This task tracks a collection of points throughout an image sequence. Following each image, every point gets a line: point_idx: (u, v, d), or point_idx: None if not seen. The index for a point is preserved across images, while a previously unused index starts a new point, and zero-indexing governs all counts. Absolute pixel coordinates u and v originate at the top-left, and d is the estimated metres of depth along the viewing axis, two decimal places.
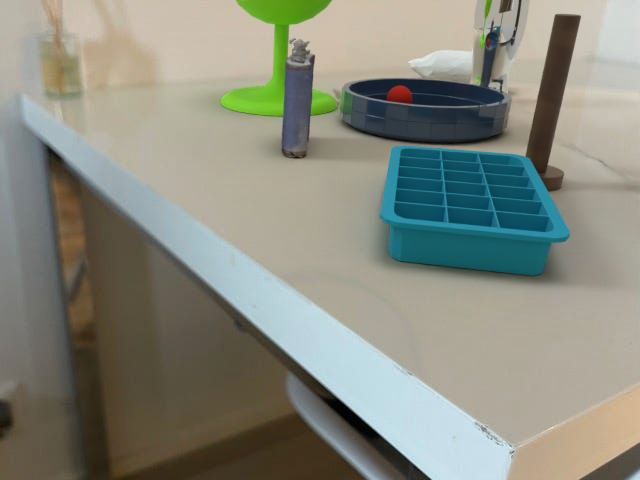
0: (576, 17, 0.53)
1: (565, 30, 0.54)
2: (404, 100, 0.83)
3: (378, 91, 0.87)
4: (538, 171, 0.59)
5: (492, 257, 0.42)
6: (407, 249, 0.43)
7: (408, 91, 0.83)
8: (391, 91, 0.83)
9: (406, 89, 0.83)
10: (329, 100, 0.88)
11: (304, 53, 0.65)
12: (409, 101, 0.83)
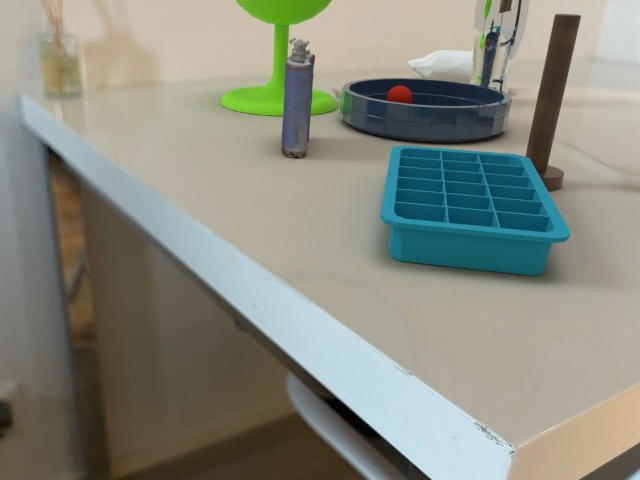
0: (576, 17, 0.53)
1: (565, 30, 0.54)
2: (404, 100, 0.83)
3: (378, 91, 0.87)
4: (538, 171, 0.59)
5: (492, 257, 0.42)
6: (407, 249, 0.43)
7: (408, 91, 0.83)
8: (391, 91, 0.83)
9: (406, 89, 0.83)
10: (329, 100, 0.88)
11: (304, 53, 0.65)
12: (409, 101, 0.83)
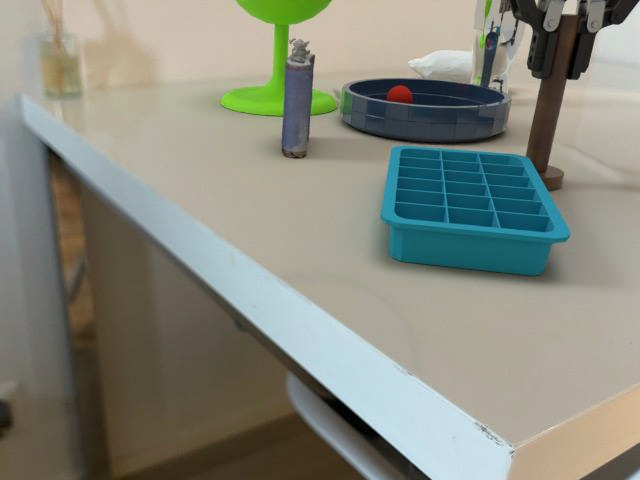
0: (576, 17, 0.53)
1: (565, 30, 0.54)
2: (404, 100, 0.83)
3: (378, 91, 0.87)
4: (538, 171, 0.59)
5: (492, 257, 0.42)
6: (407, 249, 0.43)
7: (408, 91, 0.83)
8: (391, 91, 0.83)
9: (406, 89, 0.83)
10: (329, 100, 0.88)
11: (304, 53, 0.65)
12: (409, 101, 0.83)
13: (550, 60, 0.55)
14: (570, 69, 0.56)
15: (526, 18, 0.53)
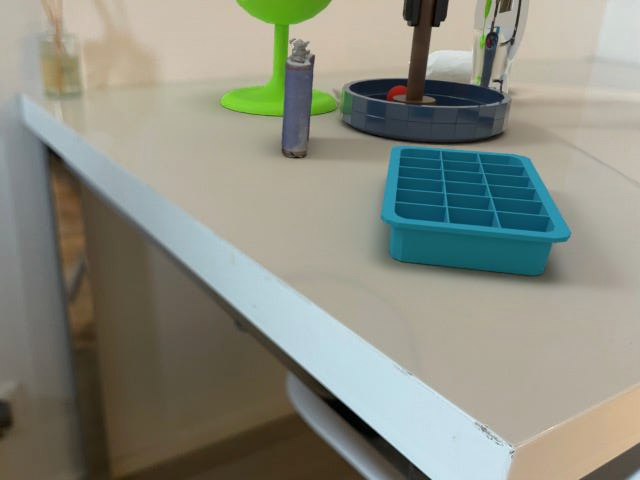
0: None
1: None
2: None
3: (378, 91, 0.87)
4: (415, 99, 0.77)
5: (493, 257, 0.42)
6: (408, 249, 0.43)
7: None
8: (391, 91, 0.83)
9: (406, 89, 0.83)
10: (329, 100, 0.88)
11: (304, 53, 0.65)
12: None
13: (417, 12, 0.73)
14: (433, 19, 0.74)
15: None
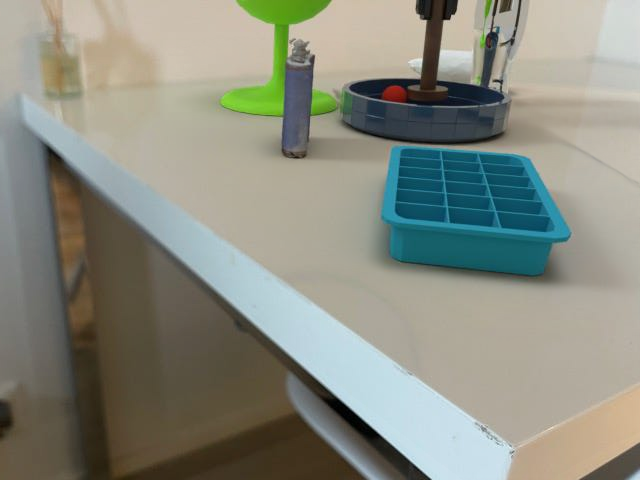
0: None
1: None
2: (398, 98, 0.83)
3: (378, 91, 0.87)
4: (429, 88, 0.82)
5: (493, 257, 0.42)
6: (408, 249, 0.43)
7: (399, 88, 0.83)
8: (383, 95, 0.84)
9: (397, 87, 0.83)
10: (329, 100, 0.88)
11: (304, 53, 0.65)
12: (404, 97, 0.83)
13: (429, 6, 0.78)
14: (444, 12, 0.79)
15: None
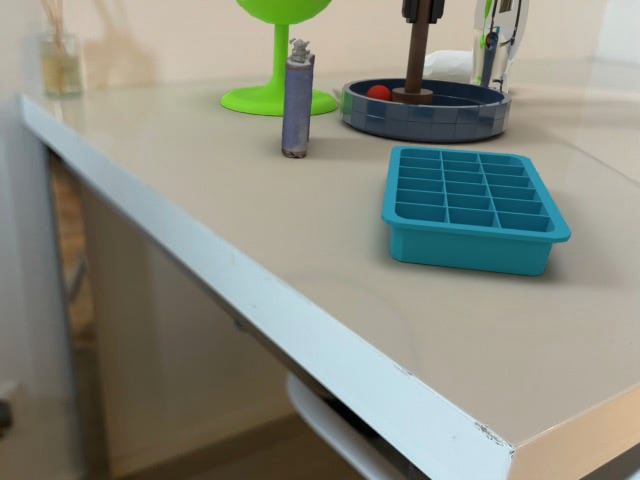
0: None
1: None
2: (377, 98, 0.82)
3: None
4: (414, 91, 0.82)
5: (493, 257, 0.42)
6: (408, 249, 0.43)
7: (370, 91, 0.83)
8: None
9: (368, 93, 0.83)
10: (329, 100, 0.88)
11: (304, 53, 0.65)
12: (380, 91, 0.82)
13: (415, 9, 0.78)
14: (430, 16, 0.78)
15: None
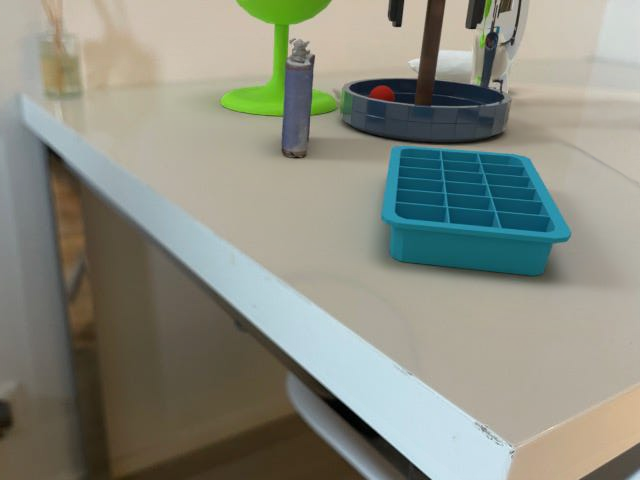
0: None
1: (435, 3, 0.74)
2: None
3: None
4: None
5: (493, 257, 0.42)
6: (408, 249, 0.43)
7: (375, 92, 0.82)
8: None
9: (373, 93, 0.83)
10: (329, 100, 0.88)
11: (304, 53, 0.65)
12: (385, 94, 0.82)
13: (401, 12, 0.74)
14: (470, 21, 0.75)
15: None
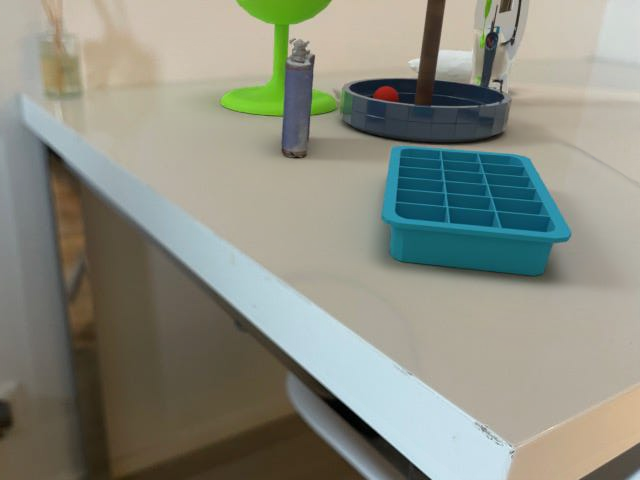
0: None
1: (435, 3, 0.74)
2: None
3: None
4: None
5: (493, 257, 0.42)
6: (408, 249, 0.43)
7: (382, 93, 0.82)
8: None
9: (379, 93, 0.82)
10: (329, 100, 0.88)
11: (304, 53, 0.65)
12: (390, 99, 0.82)
13: None
14: None
15: None
